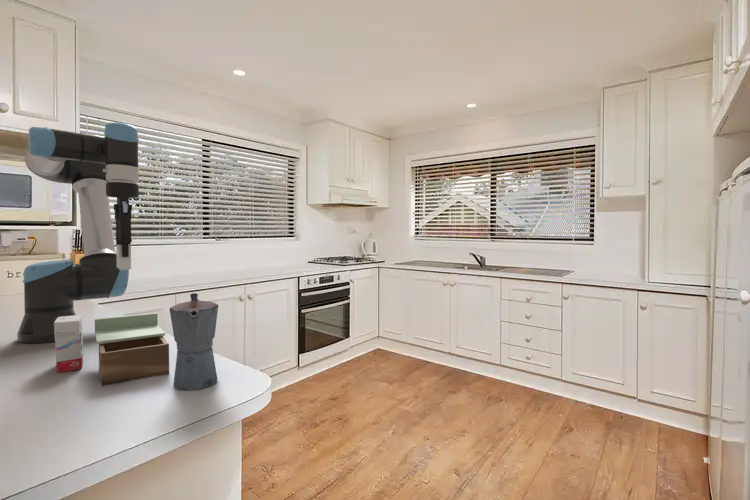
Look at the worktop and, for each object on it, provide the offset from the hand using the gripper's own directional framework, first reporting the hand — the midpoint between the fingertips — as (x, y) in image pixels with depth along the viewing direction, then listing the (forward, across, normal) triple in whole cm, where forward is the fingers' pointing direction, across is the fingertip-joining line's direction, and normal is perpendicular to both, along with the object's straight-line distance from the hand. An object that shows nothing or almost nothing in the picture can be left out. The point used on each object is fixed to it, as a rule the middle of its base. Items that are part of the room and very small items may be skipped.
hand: (123, 268), depth 108 cm
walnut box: (+23, +20, 0) cm, 31 cm away
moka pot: (+23, +35, +10) cm, 43 cm away
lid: (+16, +12, 0) cm, 20 cm away
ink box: (+23, +7, -12) cm, 27 cm away
